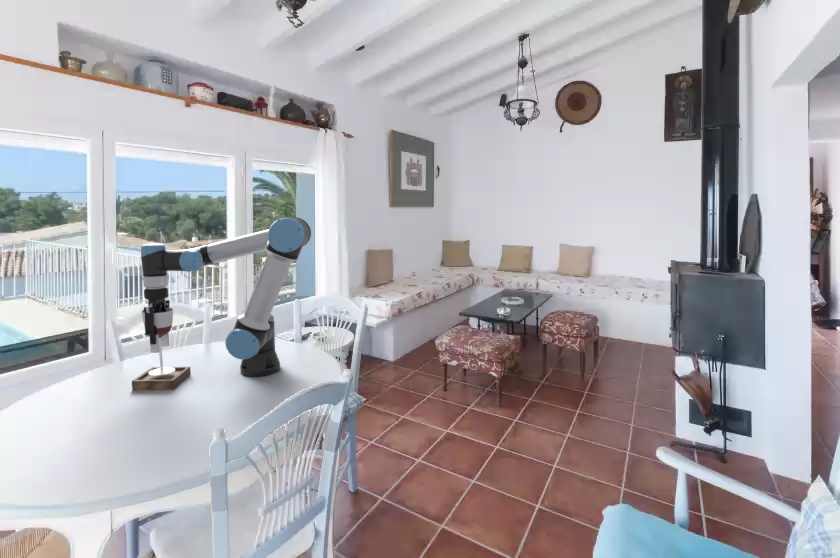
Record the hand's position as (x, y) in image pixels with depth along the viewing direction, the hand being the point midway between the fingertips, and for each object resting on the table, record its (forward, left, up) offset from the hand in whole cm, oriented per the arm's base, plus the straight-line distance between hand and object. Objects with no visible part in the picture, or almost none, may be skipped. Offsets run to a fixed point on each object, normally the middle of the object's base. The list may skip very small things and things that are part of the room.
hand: (160, 349), depth 160 cm
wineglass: (0, 0, -9) cm, 9 cm away
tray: (0, 0, -13) cm, 13 cm away
